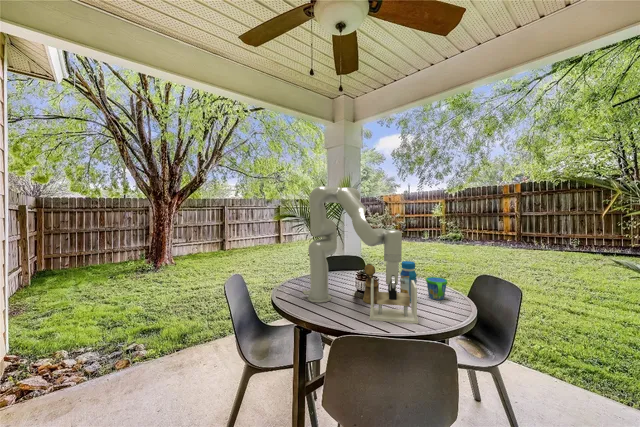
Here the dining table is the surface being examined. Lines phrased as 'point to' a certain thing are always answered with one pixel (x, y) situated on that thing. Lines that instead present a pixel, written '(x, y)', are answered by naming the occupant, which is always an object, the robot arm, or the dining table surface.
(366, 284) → the wooden mug
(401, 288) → the beverage bottle
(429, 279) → the snack cup
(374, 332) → the dining table surface
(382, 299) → the tan wooden block
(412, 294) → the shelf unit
